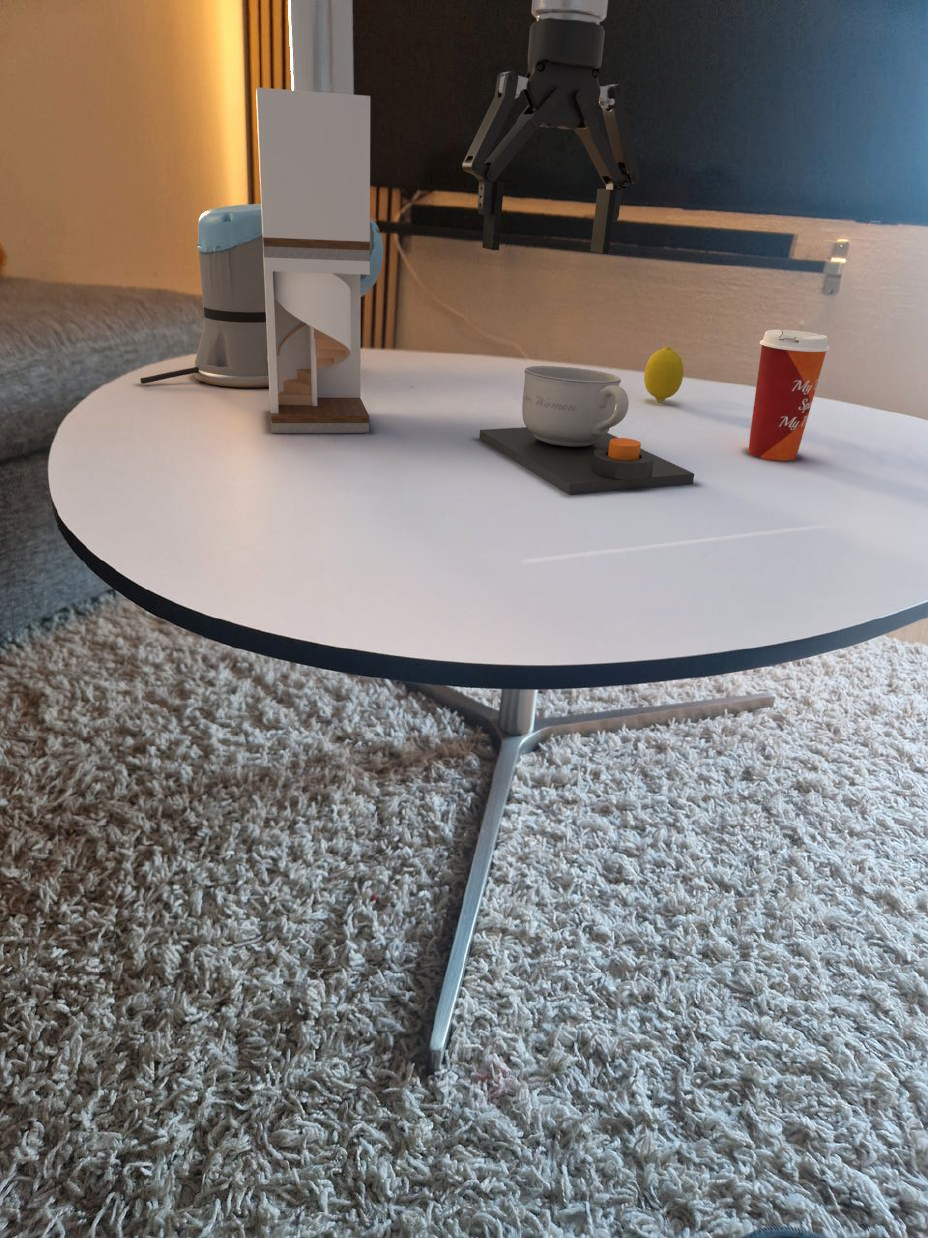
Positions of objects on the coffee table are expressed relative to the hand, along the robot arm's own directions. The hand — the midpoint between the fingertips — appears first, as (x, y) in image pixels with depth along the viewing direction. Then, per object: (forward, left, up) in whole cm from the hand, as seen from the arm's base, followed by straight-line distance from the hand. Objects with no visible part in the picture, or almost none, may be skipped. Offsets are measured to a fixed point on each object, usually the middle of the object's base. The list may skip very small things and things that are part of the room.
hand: (546, 251), depth 99 cm
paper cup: (+26, -12, -21) cm, 36 cm away
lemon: (+29, +16, -21) cm, 40 cm away
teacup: (+2, -7, -20) cm, 21 cm away
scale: (+1, -9, -21) cm, 23 cm away
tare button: (+1, -18, -19) cm, 26 cm away
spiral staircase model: (-23, +14, -21) cm, 34 cm away
